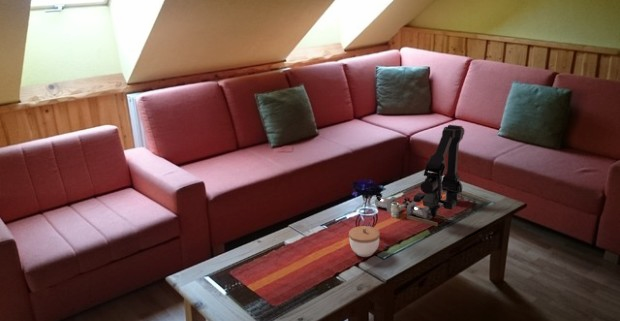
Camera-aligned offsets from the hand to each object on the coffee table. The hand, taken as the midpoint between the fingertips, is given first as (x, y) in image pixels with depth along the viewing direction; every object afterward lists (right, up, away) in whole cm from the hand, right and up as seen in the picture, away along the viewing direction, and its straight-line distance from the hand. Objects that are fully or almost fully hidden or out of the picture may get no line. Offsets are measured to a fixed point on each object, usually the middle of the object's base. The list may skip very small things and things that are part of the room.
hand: (433, 217), depth 240 cm
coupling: (-6, 0, +5) cm, 8 cm away
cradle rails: (-3, -1, +3) cm, 4 cm away
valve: (-14, +1, +10) cm, 17 cm away
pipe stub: (-21, +3, +16) cm, 26 cm away
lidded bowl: (-34, -12, -24) cm, 44 cm away
